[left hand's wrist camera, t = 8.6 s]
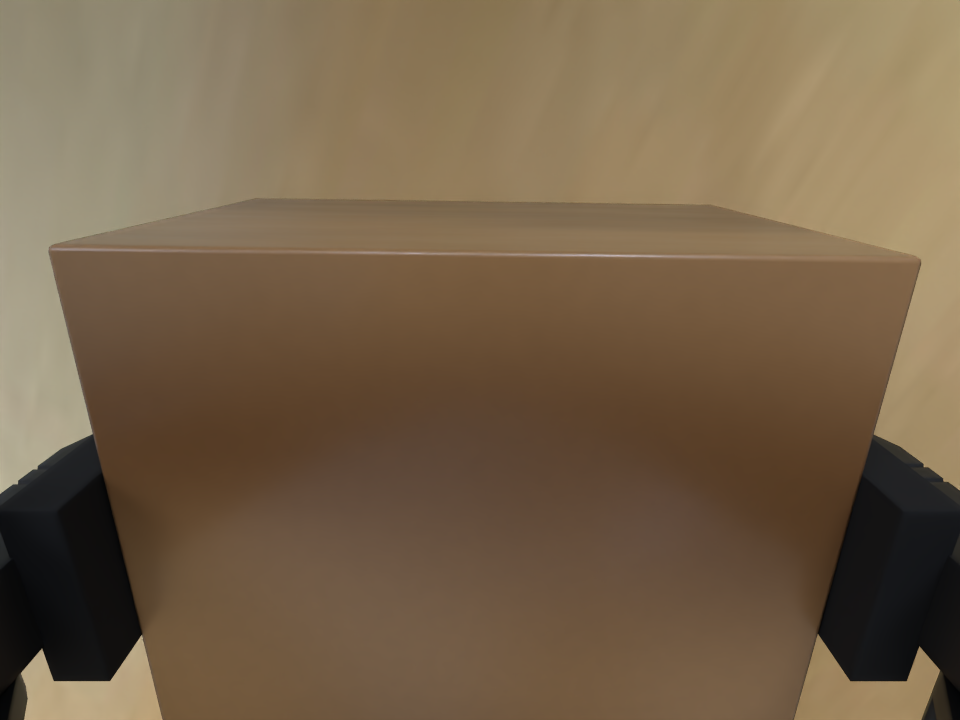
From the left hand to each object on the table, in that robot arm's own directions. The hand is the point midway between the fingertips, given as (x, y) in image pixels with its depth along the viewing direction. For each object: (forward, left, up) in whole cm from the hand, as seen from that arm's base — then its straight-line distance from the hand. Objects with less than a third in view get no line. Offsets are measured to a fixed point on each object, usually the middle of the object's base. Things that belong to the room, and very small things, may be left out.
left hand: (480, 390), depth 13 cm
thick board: (+21, +5, -1) cm, 21 cm away
